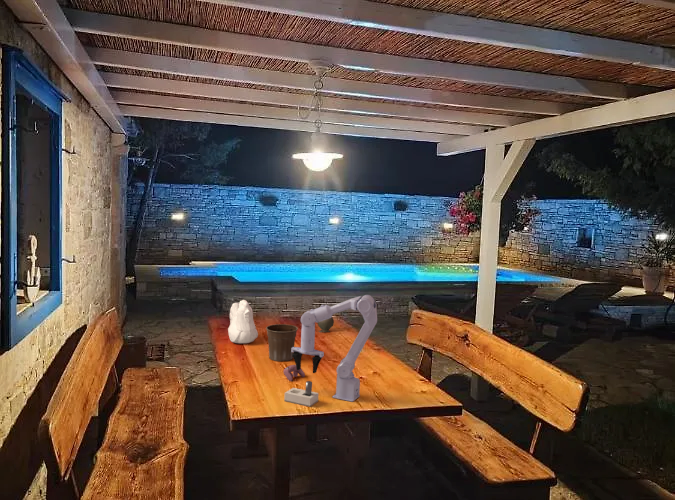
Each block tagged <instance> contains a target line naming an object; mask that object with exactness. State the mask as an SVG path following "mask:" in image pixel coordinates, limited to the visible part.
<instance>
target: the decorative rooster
mask: <svg viewBox="0 0 675 500" xmlns="http://www.w3.org/2000/svg"><path fill="white" fill-rule="evenodd" d="M253 312H254V311H253V309H252V306H251V305H250V303H249V302H248V301H247V300H246V299H242V300H240V301H239V302H234V303H232V304H231V307H230V309H229V321H230V322H229V326H228V328H227V331H228V336H229V337H228V338H229V340H230V342H232V343H235V344H249V343H252V342H254V341H255V340H256V339H257V338H258V336H259V333H258V330H257V328H256V325H255V321H254V313H253Z"/></svg>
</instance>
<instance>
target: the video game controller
mask: <svg viewBox="0 0 675 500" xmlns="http://www.w3.org/2000/svg"><path fill="white" fill-rule="evenodd" d="M283 375H284V376H285V378H286V379H287V380H288V381H290V382H293V378H296V377H299V376H301V377H302V378H305V377H306V374H305V372H304V370H303V369H302V368H301V369H300V370H297V368H296V364H292V365H288V366H287V367H285V368H284V369H283Z"/></svg>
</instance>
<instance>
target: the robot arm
mask: <svg viewBox="0 0 675 500" xmlns="http://www.w3.org/2000/svg"><path fill="white" fill-rule="evenodd" d="M375 300H376V299H374V297H373V296H371V295H370V294H365V295H363V296H361V295H360V296H355V297H352V298H349V299H347V300H344V301H342V302H339V303H337V304H334V305H332V306H330V305H328V304H321V305H320V306H319V307H317V308H311V309H310V310H306V311H305V312H304V313H303V314H302V315H301V317H300V323H301V333H300V346H299V347H298V346H294V347H292V348H291V352H293V354H292V356H293V360H294V363H295V365H296V368H297V370H300V369H302V356H303V354H304V355H310V356H312V357H311V360H312V373H313V374H316V373H317V371H318V367H319V365H320V362H321V360H322V359H323V357H324V355H325V354H324V351H321V350H318V349H315V343H316V342H315V341H316V340H315V337H316V323H317V324H318V322H321V321H324V320H326V319H329V318H331V317H333V315H335V314H337V313H341V312H344V311H348V310H353V311H357V310H358V312H359V313H360V314H361V316H362V318H363V321H364V323H363V325H362V327H361V328H360V330H359V331H358V334H357V336H356V338H355V339H354V341H353V343H352V344H351V346H350V348H349V350H348V352H347V354H346V355H345V356H344V358H342V359H341V360H340V363H339V364H338V366H337V367H336V388H335V394H334V395H332V397H331V398H333V399H338V400H341V401H347V402H351V403H353V402H354V401H355V400H356V399H358V398H359V397H361V395H360V388H361V381H360V378H359V377H356V376H355V374H354V372H353V370H354V369H355V367H356V365H355V364H356V361H357V359H358V358H359V355H360V354H361V352H362V350H363V348H364V346H365V344H366V342H367V341H368V339H369V337H370V336H371V334H372V332H373V330H374V329H375V327H376V325H377V323H378V312H377V302H376V301H375Z"/></svg>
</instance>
